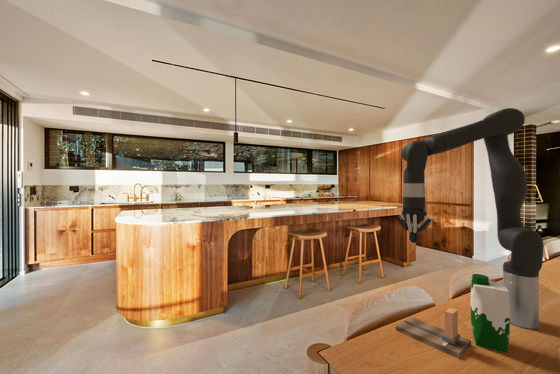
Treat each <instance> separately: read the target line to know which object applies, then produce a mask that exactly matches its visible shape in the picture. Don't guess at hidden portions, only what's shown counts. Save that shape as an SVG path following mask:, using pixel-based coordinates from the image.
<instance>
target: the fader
mask: <svg viewBox="0 0 560 374" xmlns="http://www.w3.org/2000/svg"><path fill="white" fill-rule="evenodd" d="M458 312H459V311H458V309H457V308H456V309H455V308H453V307H449V308H448V309H446V310H445V311H444V330H445V334H444V335H443V336H442V340H444V341H446V342H449V343H451V344H455V343H456V342H457V341H458V340H459V339H460V336H461V334H460V333H458V331H459V329H458V328H459V327H458V326H459V325H458V324H459V323H458V322H459V321H458V320H459V319H458V317H459V316H458V315H459V314H458Z"/></svg>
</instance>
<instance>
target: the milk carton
mask: <svg viewBox="0 0 560 374" xmlns="http://www.w3.org/2000/svg"><path fill="white" fill-rule="evenodd" d="M470 286H471V287H470V324H471V329H472V333H473V338H474V343H475V346H478V347H481V348H486V349H489V350H492V351H496V352H501V353H505V354H508V349H509V344H510V343H509V342H510V341H509V340H510V334H511V332H510V331H511V327H510V326H511V325H510V324H511V323H510V302H509V291H508V290H507V288H506V287H505V285H504V284H503V282H497V281H492V280H490V278H489V276H488V275H484V274H479V273H472V275H471V285H470Z"/></svg>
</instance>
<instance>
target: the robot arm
mask: <svg viewBox="0 0 560 374" xmlns="http://www.w3.org/2000/svg"><path fill="white" fill-rule="evenodd" d="M525 120H526V118H525V115H524V113H523V112H522V111H521V110H519V109H518V108H513V107H511V108H510V107H507V108H502V109H499V110H497V111H495V112H492V113H490V114H488V115H487V116H485V117H484V118H483V119H481V120H479V121H475V122H473V123H469V124H466V125H463V126H460V127H457V128H453V129H449V130H446V131H443V132H440V133H436V134H434V135H431V136H429V137H428V138H425V139H420V140H414V141H412V142H409V143H407V144H406V145H404V146H403V147H402V148H401V150H400V156H401V158H402V159H403V160H404V161H406V168H404V171H403V179H402V180H403V185H402V211H401V214H400V215H397V216H396V217H395V219H396V220H397V222H398V223H399V224H400V226H401V227H402V229H404V231H408V234H409V235H408V239H409V241H410V243H412V244H417V243H418V242H419V241H420V233H421V232H424V231H425V230H427V228H428V227H429V226H430V225H431V224H432V223H433V222H434V219H433V218H430V217H429V216H428V214H427V212H426V206H427V205H426V186H425V177H426V176H425V174H426V173H425V170H426V167H427V162H428V157H430V156H434V155H439V154H442V153H445V152H449V151H452V150H455V149H457V148H461V147H463V146H466V145H468V144H471V143H473V142H476V141H479V140H483V142H484V144H485V147H486V152H487V158H488V163H489V169H490V177H491V178H490V179H491V185H492V191H493V194H494V195H493V196H494V203H495V209H496V218H497V220H496V223H497V224H496V226H497V227H496V228H497V229H496V230H497V240H498V243H499V244H500V246H501V247H502V248H503V249H504V250H507V251H509V252H510V260H508V261H505V262H503V264H502V283H503V284H504V285H505V287H506V288H507V290H508V291H509V302H510V324H512V325H513V326H517V327H520V328H525V329H533V330H535V329H539V328H540V271H541V270H542V267H543V264H544V263H543V262H544V240H543V237H542V236H541V235H540V233H538V232H537V231H536V230H533V229H530V228H525V227H523V223H522V217H521V210H522V207H523V204H524V201H525V200H526V196H527V193H528V183H527V182H528V181H527V176H526V175H527V174H526V171H525V169H524V167H523V166H522V164H521V162H520V161H519V160H518V159H517V158H516V157H515V155H514V154H513V152H512V150H511V148H510V143H509V135H512V134H514V133H516V132H518V131H520V130H521V129H522V128H523V126H524V124H525ZM422 222H423V223H422Z"/></svg>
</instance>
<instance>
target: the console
mask: <svg viewBox="0 0 560 374" xmlns="http://www.w3.org/2000/svg"><path fill="white" fill-rule="evenodd" d="M395 331H397V332H398V333H401V334H404V335H406V336H409V337H410V338H412V339H414V340H416V341H419V342H421V343H424V344H425V345H427V346H430V347H432V348H434V349H436V350H438V351H441V352H443V353H445V354H448V355H450V356H451V357H454V358H456V359H460V358H461V357H463V355H464V354H465V353H466V351H467V350H468V349H469V348H471V346H472V340H471V339H468V338H466V337H463V336H461V335H460V339H459V340H458V341H457V342H456V343H455V344H451V343H449V342H446V341H444V340H442V336H443V335H444V334H445V328H444V329H443V328H442V327H441V328H440V327H438V326H436V325H433V324H431V323H428V322H425V321H423V320H420V319H418V318H416V317H413V316H408V317H407V318H405V319H404V320H402V321H400V322H398V323H397V324H396V325H395Z"/></svg>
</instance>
